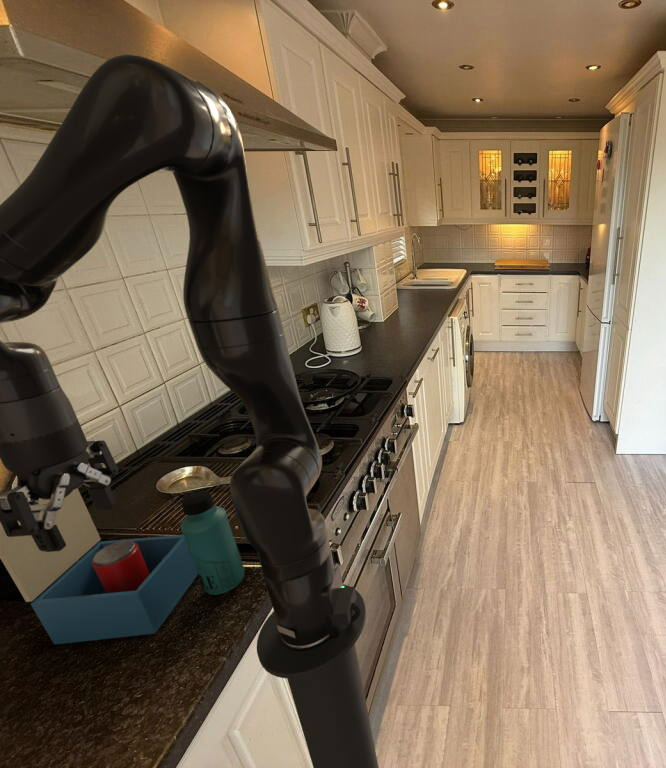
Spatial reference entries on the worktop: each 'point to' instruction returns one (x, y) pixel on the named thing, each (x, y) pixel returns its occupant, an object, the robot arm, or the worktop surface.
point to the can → (120, 567)
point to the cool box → (117, 595)
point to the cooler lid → (42, 567)
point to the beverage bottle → (211, 544)
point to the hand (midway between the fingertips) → (83, 527)
